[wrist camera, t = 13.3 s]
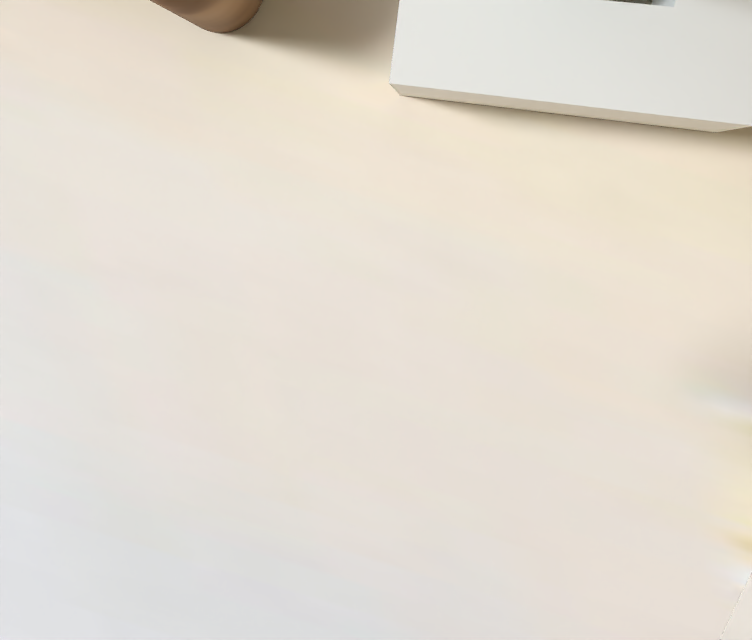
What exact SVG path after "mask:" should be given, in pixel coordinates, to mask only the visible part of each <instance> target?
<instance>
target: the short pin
mask: <svg viewBox="0 0 752 640" xmlns="http://www.w3.org/2000/svg"><path fill="white" fill-rule="evenodd" d="M150 1H152V2H154V3H156V4H158V5H160V6H162V7H163V8H165V9H167V10H169V11H171V12H173V13H175V14H176V15H178V16H180V17H182V18H184V19H186V20H188V21H189V22H191V23H193V24H195V25H197V26H199V27H201V28H203V29H205V30H207V31H210V32H216V33H225V32H231V31H234V30H236V29H239V28H241V27H242V26H244V25H245V24H246V23H248V22H249V21H250V20H251V19H252V18H253V17H254V15H255V14H256V12H257V11H258V9H259V7H260V5H261V3H262V0H150Z"/></svg>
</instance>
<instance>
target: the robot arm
mask: <svg viewBox="0 0 752 640" xmlns="http://www.w3.org/2000/svg"><path fill="white" fill-rule="evenodd" d="M720 640H752V572H751V575H750V577H749V579H748V581H747V583H746V585H745V587H744V589H743V591H742V594H741V596H740V598H739V600H738V602H737V604H736V606H735V608H734V610H733V612H732V615H731V617H730V619H729V621H728V623H727V625H726V627H725V629H724V631H723V633H722V636H721V638H720Z"/></svg>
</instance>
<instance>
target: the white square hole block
mask: <svg viewBox="0 0 752 640" xmlns="http://www.w3.org/2000/svg"><path fill="white" fill-rule="evenodd" d="M389 84H390V85H391V86H392V87H393V88H394V89H395V90H396V91H397V92H398V94H399V95H404V96H412V97H421V98H429V99H438V100H446V101H455V102H463V103H471V104H480V105H488V106H497V107H505V108H513V109H522V110H530V111H539V112H547V113H556V114H564V115H572V116H581V117H589V118H598V119H606V120H614V121H623V122H631V123H640V124H648V125H657V126H665V127H673V128H682V129H690V130H699V131H707V132H715V133H716V132H722V131H728V130H734V129H739V128H745V127H751V126H752V0H652V3H651V5H648V4H638V3H628V2H618V1H608V0H399V8H398V16H397V24H396V32H395V40H394V48H393V56H392V64H391V72H390V80H389Z"/></svg>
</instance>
